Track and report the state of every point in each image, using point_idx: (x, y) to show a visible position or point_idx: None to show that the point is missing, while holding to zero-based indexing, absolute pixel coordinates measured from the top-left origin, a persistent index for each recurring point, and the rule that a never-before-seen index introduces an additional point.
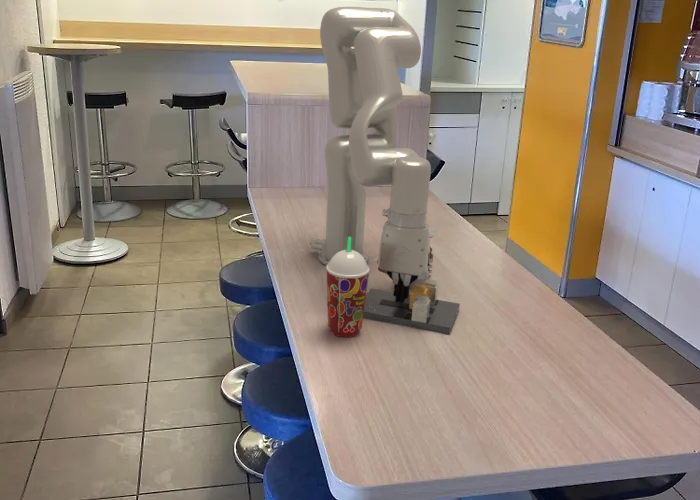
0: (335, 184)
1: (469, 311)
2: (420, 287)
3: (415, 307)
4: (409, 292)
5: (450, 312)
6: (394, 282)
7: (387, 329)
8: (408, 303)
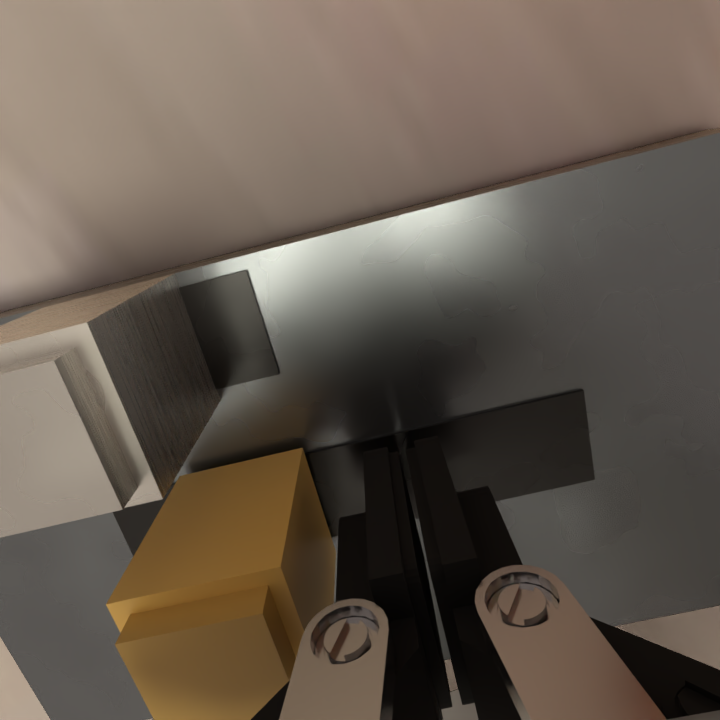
0: None
1: (23, 707)
2: (200, 686)
3: (79, 314)
4: (472, 710)
5: (18, 592)
6: (532, 590)
7: (333, 85)
8: None
